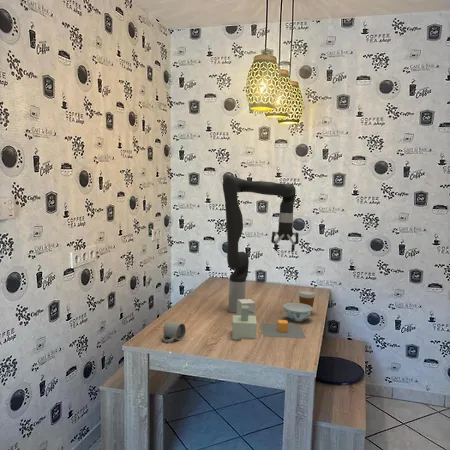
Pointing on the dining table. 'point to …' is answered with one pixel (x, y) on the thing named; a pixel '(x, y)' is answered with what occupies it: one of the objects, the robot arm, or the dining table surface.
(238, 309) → the supplement box
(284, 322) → the orange block
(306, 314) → the chinaware
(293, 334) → the grey mat
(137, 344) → the dining table surface
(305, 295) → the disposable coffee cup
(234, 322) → the sage cover
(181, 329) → the ceramic mug
